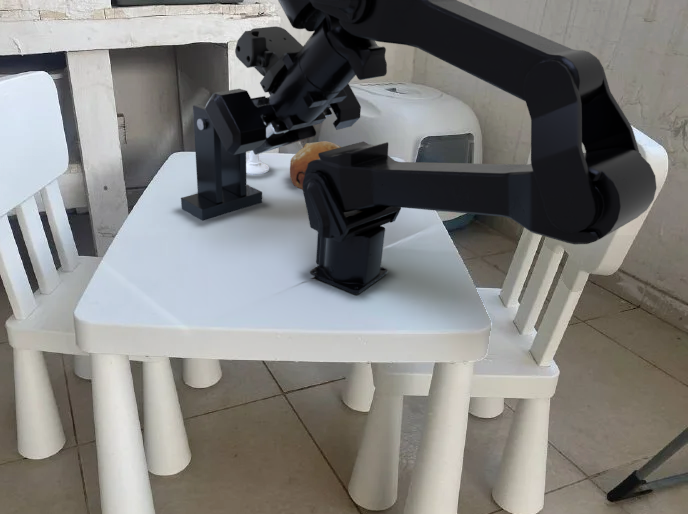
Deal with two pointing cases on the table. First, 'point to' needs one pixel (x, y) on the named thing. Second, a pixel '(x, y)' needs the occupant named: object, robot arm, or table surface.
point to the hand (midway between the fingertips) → (255, 150)
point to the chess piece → (255, 165)
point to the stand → (217, 174)
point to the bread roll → (307, 160)
